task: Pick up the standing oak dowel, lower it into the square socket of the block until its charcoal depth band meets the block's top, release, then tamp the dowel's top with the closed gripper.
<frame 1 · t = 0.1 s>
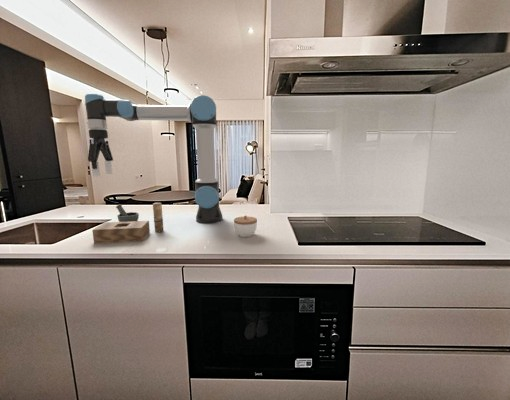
hand: (103, 175, 123), 28 cm above the countertop, tool pointing down, fingers open, 13 cm apart
socket block: (123, 237, 117), on the countertop
dowel: (159, 231, 126), on the countertop
mortar and pestle: (128, 227, 134), on the countertop
lidded jar: (245, 235, 119), on the countertop
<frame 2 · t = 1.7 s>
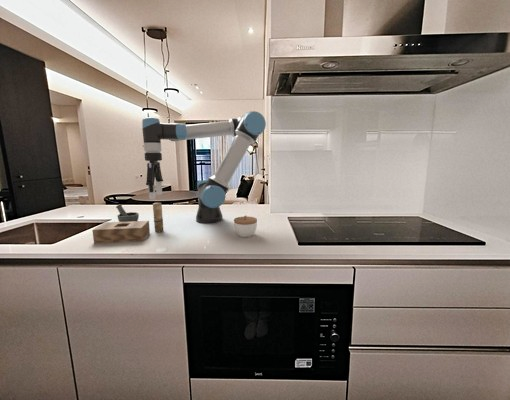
hand: (156, 196, 123), 17 cm above the countertop, tool pointing down, fingers open, 13 cm apart
nothing on the countertop moved.
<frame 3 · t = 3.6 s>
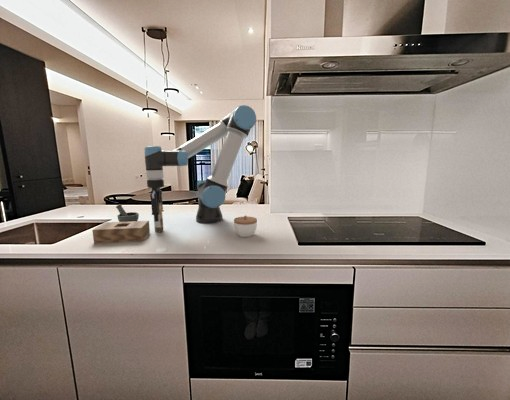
hand: (158, 225, 126), 3 cm above the countertop, tool pointing down, fingers closed on dowel, 4 cm apart
dowel: (159, 231, 126), on the countertop, touching gripper
everything else where it was.
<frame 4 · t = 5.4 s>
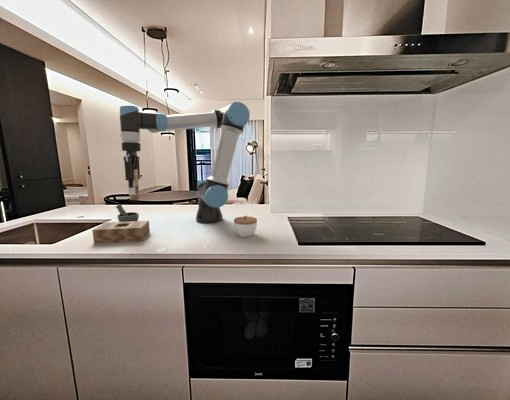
hand: (134, 193, 117), 20 cm above the countertop, tool pointing down, fingers closed on dowel, 4 cm apart
dowel: (134, 199, 118), point 17 cm above the countertop, touching gripper
everything else where it was.
when the fingers open (7 cm above the countertop, at t = 7.6 s): dowel drops 4 cm, resting on socket block.
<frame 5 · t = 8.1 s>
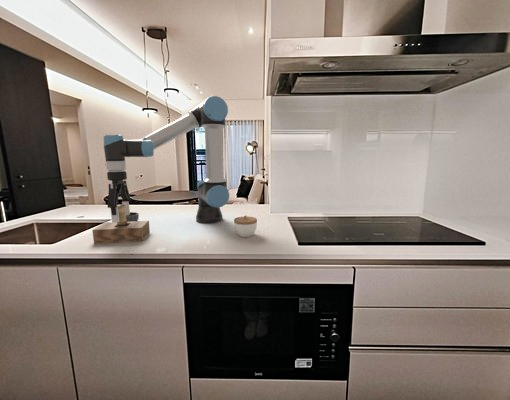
hand: (121, 218, 115), 9 cm above the countertop, tool pointing down, fingers open, 12 cm apart
dowel: (123, 235, 117), point 1 cm above the countertop, touching socket block
everything else where it was.
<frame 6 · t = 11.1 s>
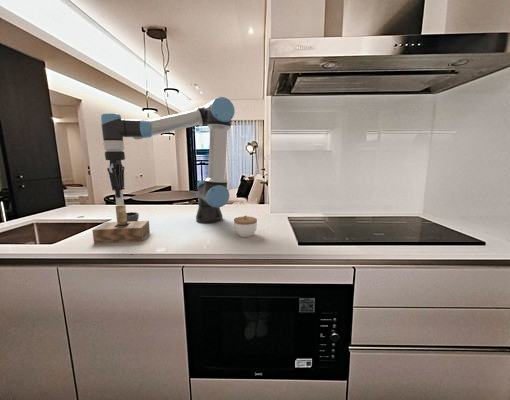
hand: (120, 204, 114), 16 cm above the countertop, tool pointing down, fingers closed
nothing on the countertop moved.
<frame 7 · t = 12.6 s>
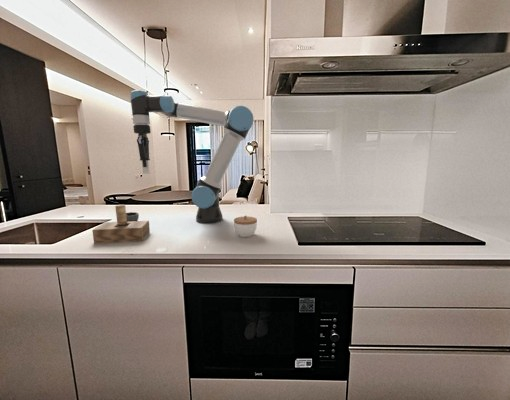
hand: (146, 173, 128), 28 cm above the countertop, tool pointing down, fingers closed
nothing on the countertop moved.
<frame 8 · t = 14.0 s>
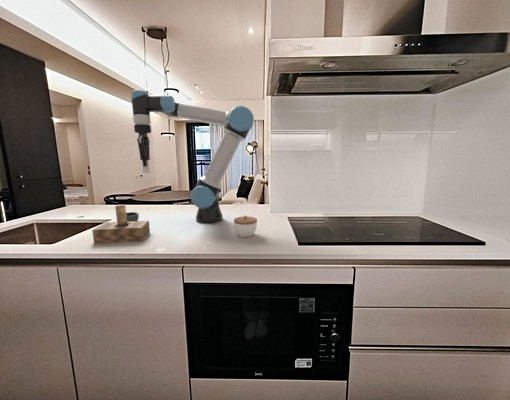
hand: (146, 172, 128), 28 cm above the countertop, tool pointing down, fingers closed
nothing on the countertop moved.
at the end: dowel 0.2 cm off-centre on the socket block, point 1.0 cm above the socket block's base; dowel tilted 0°; the gripper is holding nothing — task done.
